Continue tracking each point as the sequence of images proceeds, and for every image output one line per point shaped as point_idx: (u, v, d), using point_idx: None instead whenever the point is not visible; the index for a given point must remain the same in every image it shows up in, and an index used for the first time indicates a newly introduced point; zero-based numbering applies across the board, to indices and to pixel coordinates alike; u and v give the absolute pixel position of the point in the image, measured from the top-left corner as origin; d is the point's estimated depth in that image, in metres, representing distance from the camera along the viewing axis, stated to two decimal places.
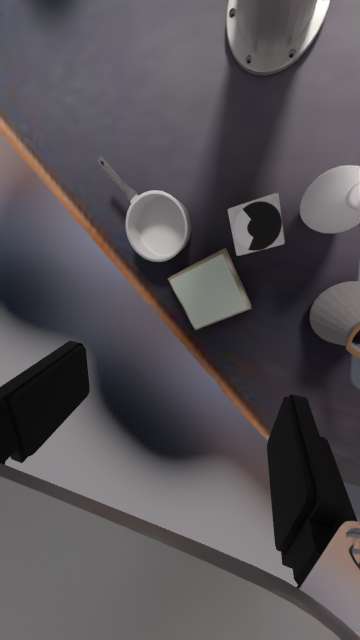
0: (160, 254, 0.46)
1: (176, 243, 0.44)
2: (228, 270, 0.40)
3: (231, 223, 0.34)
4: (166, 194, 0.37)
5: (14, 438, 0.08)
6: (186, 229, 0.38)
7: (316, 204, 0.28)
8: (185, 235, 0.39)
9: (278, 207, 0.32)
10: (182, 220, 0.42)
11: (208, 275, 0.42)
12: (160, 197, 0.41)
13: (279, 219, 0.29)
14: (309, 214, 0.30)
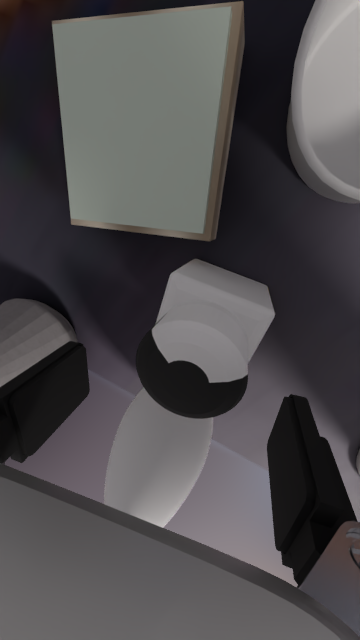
0: (332, 29, 0.13)
1: (314, 118, 0.15)
2: (161, 225, 0.17)
3: (242, 302, 0.14)
4: None
5: (14, 438, 0.08)
6: (327, 178, 0.12)
7: (163, 451, 0.15)
8: (316, 164, 0.12)
9: None
10: (347, 175, 0.15)
11: (174, 168, 0.15)
12: None
13: (173, 412, 0.13)
14: (161, 419, 0.17)
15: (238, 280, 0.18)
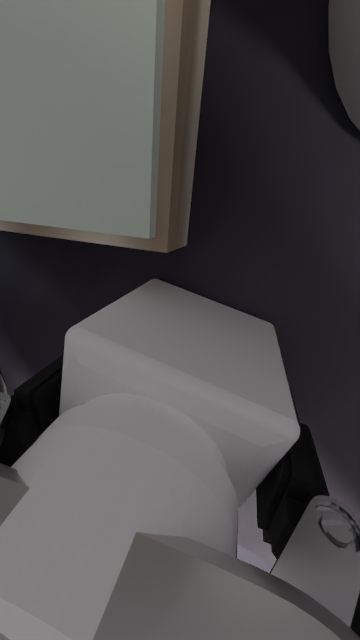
0: None
1: None
2: (73, 222, 0.09)
3: (223, 403, 0.06)
4: None
5: (35, 433, 0.08)
6: None
7: None
8: None
9: None
10: None
11: (79, 98, 0.07)
12: None
13: None
14: None
15: (222, 322, 0.10)
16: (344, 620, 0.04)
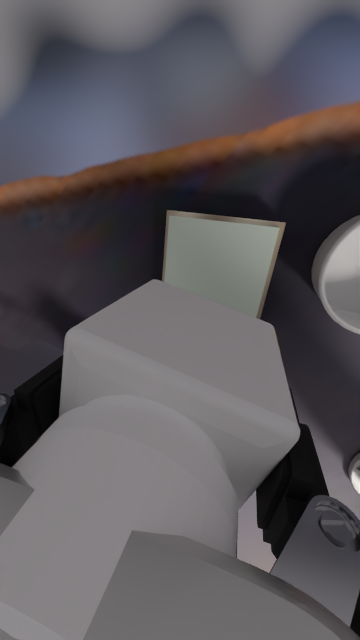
0: None
1: (328, 268, 0.24)
2: None
3: (223, 404, 0.06)
4: None
5: (35, 433, 0.08)
6: (337, 320, 0.22)
7: None
8: (331, 312, 0.22)
9: None
10: (348, 300, 0.25)
11: (237, 295, 0.25)
12: None
13: None
14: None
15: (222, 323, 0.10)
16: (344, 620, 0.04)
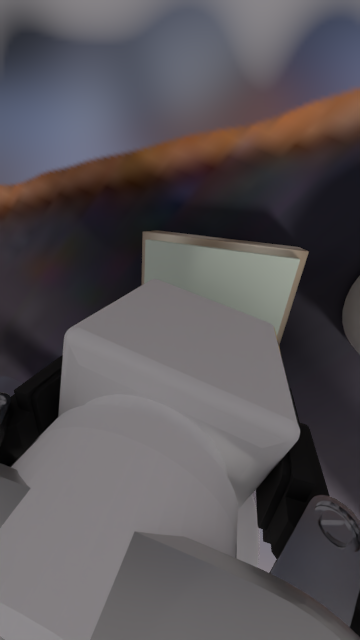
0: None
1: None
2: None
3: (223, 403, 0.06)
4: None
5: (35, 433, 0.08)
6: None
7: None
8: None
9: None
10: None
11: None
12: None
13: None
14: None
15: (222, 323, 0.10)
16: (344, 620, 0.04)
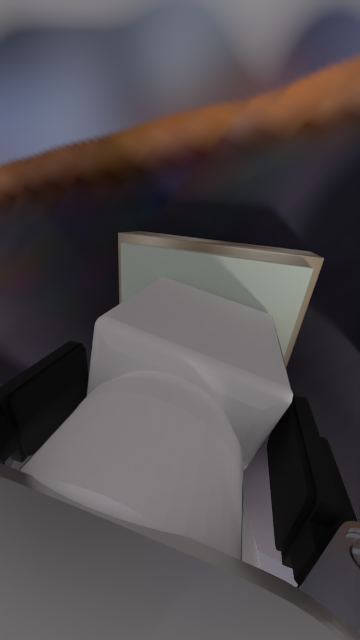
0: None
1: None
2: None
3: (228, 374, 0.07)
4: None
5: (14, 438, 0.08)
6: None
7: None
8: None
9: None
10: None
11: None
12: None
13: None
14: None
15: (226, 313, 0.11)
16: None
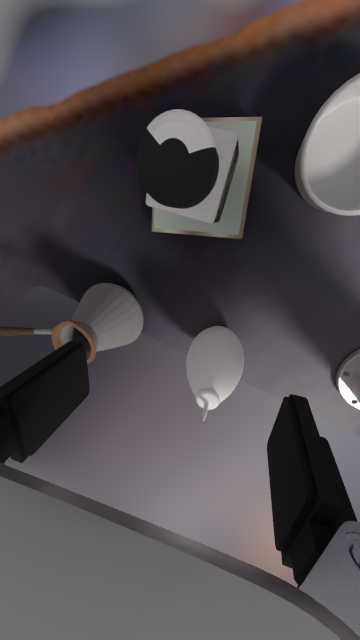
0: (318, 122, 0.24)
1: (310, 166, 0.26)
2: (213, 230, 0.28)
3: (213, 128, 0.19)
4: None
5: (14, 438, 0.08)
6: (319, 203, 0.23)
7: (223, 358, 0.27)
8: (313, 196, 0.23)
9: (194, 216, 0.22)
10: (330, 197, 0.27)
11: None
12: None
13: (167, 202, 0.18)
14: (218, 344, 0.29)
15: None
16: None
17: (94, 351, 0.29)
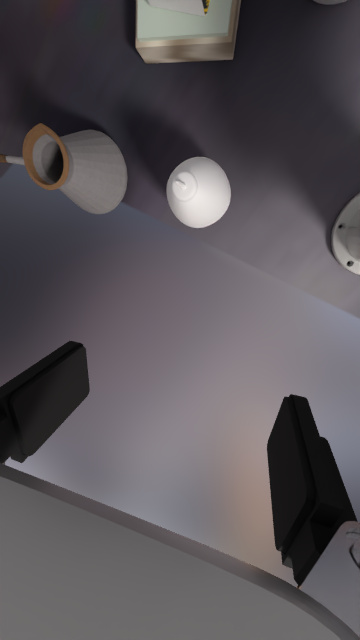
0: None
1: None
2: (200, 31, 0.26)
3: None
4: None
5: (14, 438, 0.08)
6: None
7: (205, 160, 0.25)
8: None
9: None
10: None
11: None
12: None
13: None
14: None
15: None
16: None
17: (67, 164, 0.27)
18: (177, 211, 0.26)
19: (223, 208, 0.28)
